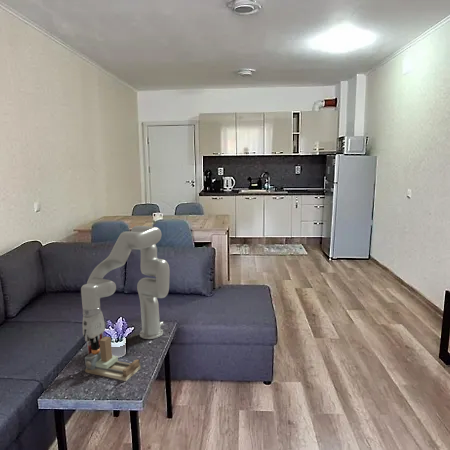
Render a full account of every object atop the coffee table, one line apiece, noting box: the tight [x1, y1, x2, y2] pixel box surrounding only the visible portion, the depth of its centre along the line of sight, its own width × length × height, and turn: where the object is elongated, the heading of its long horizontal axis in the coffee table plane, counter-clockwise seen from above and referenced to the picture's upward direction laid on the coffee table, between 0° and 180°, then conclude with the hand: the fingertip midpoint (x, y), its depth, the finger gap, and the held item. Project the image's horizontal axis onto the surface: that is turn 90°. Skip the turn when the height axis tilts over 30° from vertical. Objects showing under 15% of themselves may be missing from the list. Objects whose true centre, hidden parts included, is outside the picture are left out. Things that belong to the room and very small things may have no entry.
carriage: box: [96, 336, 119, 369], centre depth 180 cm, size 8×6×12 cm
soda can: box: [86, 333, 104, 355], centre depth 194 cm, size 7×7×12 cm
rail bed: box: [84, 347, 141, 382], centre depth 180 cm, size 11×22×7 cm, turn 68°
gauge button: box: [91, 348, 100, 354], centre depth 183 cm, size 4×4×5 cm
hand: (95, 349), depth 183 cm, fingers closed
